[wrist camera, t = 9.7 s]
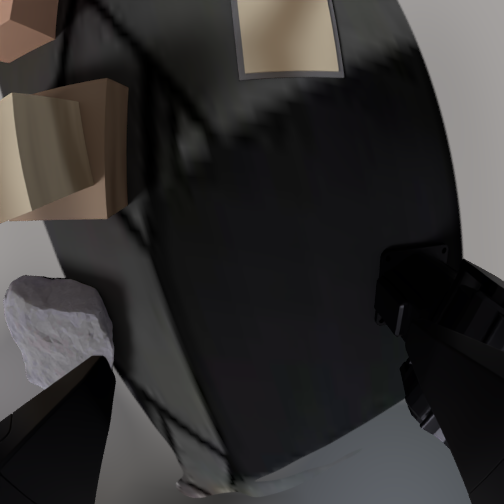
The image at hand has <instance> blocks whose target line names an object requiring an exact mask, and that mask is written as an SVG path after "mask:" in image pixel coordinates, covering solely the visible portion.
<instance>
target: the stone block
mask: <svg viewBox="0 0 504 504" xmlns="http://www.w3.org/2000/svg"><path fill="white" fill-rule="evenodd" d="M3 303H4V312H5V313H4V316H5V319H6V322H7V325H8V327H9V331H10V333H11V335H12V338H13V340H14V341H15V342H16V343H17V345H18V346H19V348H20V350H21V352H22V356H23V360H24V362H25V368H26V376H27V378H28V380H29V381H30V382H31V383H33V384H35V385H38V386H40V387H42V388H43V389H46V388H48V387H49V386H50V385H52V384H53V383H54V382H56V381H57V380H59V379H60V378H61V377H63V376H64V375H66V374H67V373H68V372H70V371H71V370H73V369H74V368H75V367H77V366H78V365H80V364H81V363H82V362H84V361H85V360H86V359H88V358H89V357H91V356H93V355H103V356H105V357H106V358H107V360H108V362H109V365H110V367H111V369H112V371H113V368H112V367H113V362H114V344H113V340H112V338H113V333H112V329H113V325H112V321H111V320H110V318H109V315H108V313H107V310H106V308H105V306H104V303H103V301H102V298H101V296H100V295H99V293H98V291H97V290H96V289H95V288H93V287H91V286H88V285H85V284H82V283H80V282H78V281H75V280H72V279H66V278H49V277H45V276H27V275H25V276H21V277H19V278H18V279H16V280H14V281H13V282H12V283H11V284H10V286H9V289H7V291H6V295H5V297H4V300H3Z"/></svg>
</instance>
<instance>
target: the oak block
mask: <svg viewBox="0 0 504 504" xmlns="http://www.w3.org/2000/svg"><path fill="white" fill-rule="evenodd" d="M91 186H94V182H93V177H92V173H91V169H90V164H89V159H88V154H87V149H86V144H85V139H84V133H83V128H82V122H81V115H80V109H79V102H77V101H71V100H65V99H59V98H52V97H45V96H38V95H30V94H21V93H10V94H9V95H7V96H6V97H4V98H3V99H1V100H0V223H3V222H5V221H8V220H10V219H13V218H15V217H18V216H20V215H23V214H25V213H28V212H31V211H33V210H35V209H38V208H40V207H42V206H44V205H47V204H49V203H51V202H54V201H56V200H58V199H61V198H63V197H66V196H68V195H70V194H73V193H75V192H78V191H80V190H83V189H86V188H88V187H91Z"/></svg>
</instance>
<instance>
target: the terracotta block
mask: <svg viewBox="0 0 504 504" xmlns="http://www.w3.org/2000/svg"><path fill="white" fill-rule="evenodd" d="M58 1H59V0H0V61H1V62H6V63H10V62H12V61H13V60H15V59H17V58H19V57H21V56H22V55H24V54H26V53H28V52H30V51H32V50H34V49H36V48H38V47H40V46H42V45H44V44H46V43H48V42H50V41H52V40H54V39H55V32H56V19H57V9H58Z"/></svg>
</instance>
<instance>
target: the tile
mask: <svg viewBox="0 0 504 504" xmlns="http://www.w3.org/2000/svg"><path fill="white" fill-rule="evenodd" d="M231 7H232V16H233V25H234V35H235V44H236V54H237V63H238V73H239V81H241V80H253V79H268V78H295V77H324V78H344V72H343V64H342V57H341V50H340V44H339V38H338V32H337V26H336V20H335V15H334V10H333V5H332V0H231Z"/></svg>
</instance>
